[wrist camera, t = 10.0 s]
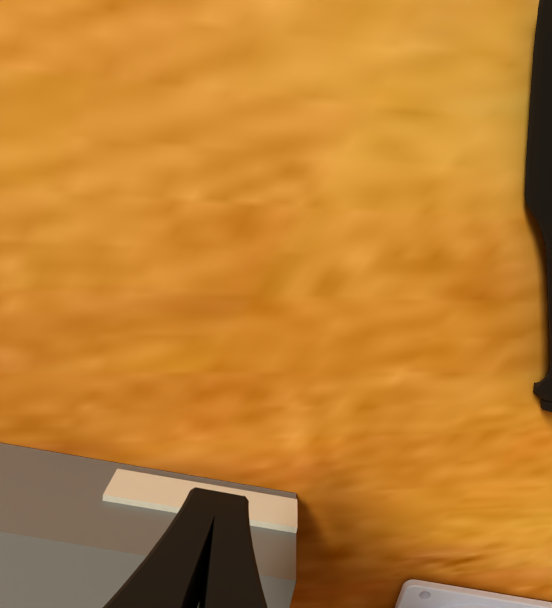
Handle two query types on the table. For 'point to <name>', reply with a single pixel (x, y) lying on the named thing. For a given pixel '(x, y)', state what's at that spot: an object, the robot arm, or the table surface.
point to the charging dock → (113, 527)
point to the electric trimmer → (542, 162)
